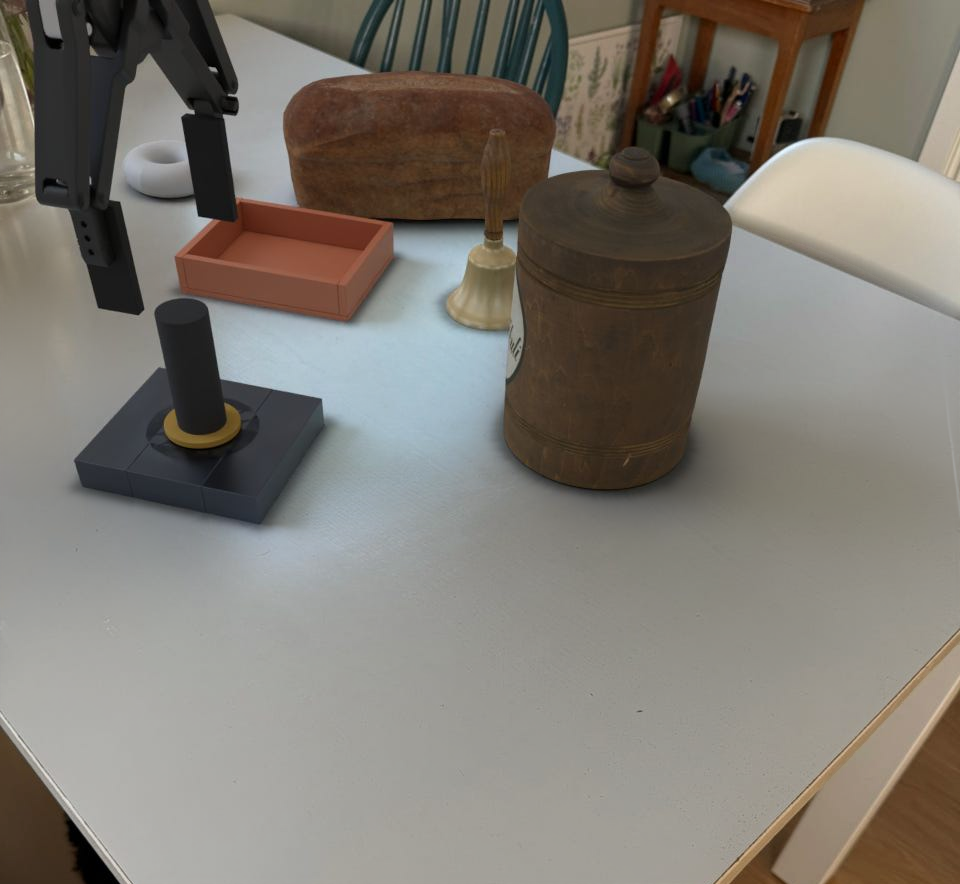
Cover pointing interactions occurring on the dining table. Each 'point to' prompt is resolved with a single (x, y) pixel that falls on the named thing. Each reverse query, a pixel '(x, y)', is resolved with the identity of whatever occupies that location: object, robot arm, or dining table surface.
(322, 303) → the terracotta tray
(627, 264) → the wooden container
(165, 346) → the plug
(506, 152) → the hand bell
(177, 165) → the donut
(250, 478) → the drain plate
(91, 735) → the dining table surface
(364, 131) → the bread
